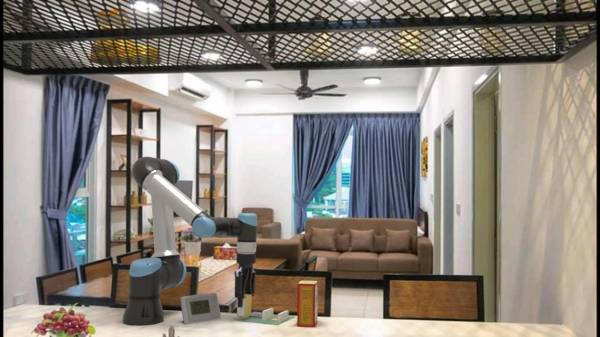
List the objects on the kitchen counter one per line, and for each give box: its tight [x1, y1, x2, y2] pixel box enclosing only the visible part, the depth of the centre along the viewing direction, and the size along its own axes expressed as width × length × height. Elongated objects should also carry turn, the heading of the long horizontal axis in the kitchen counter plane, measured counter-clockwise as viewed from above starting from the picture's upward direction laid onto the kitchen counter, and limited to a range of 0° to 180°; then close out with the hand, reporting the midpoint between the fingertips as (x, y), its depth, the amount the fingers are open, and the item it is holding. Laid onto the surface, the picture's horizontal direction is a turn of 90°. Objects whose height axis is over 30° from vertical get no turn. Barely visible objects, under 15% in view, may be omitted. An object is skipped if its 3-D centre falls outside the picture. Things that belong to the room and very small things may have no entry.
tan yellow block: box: [236, 294, 253, 318], centre depth 186 cm, size 4×4×8 cm
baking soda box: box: [296, 279, 319, 329], centre depth 184 cm, size 10×6×16 cm
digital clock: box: [179, 292, 222, 328], centre depth 183 cm, size 16×9×11 cm, turn 123°
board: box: [230, 307, 296, 326], centre depth 187 cm, size 20×17×5 cm
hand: (243, 314), depth 186 cm, fingers closed on tan yellow block, 4 cm apart
